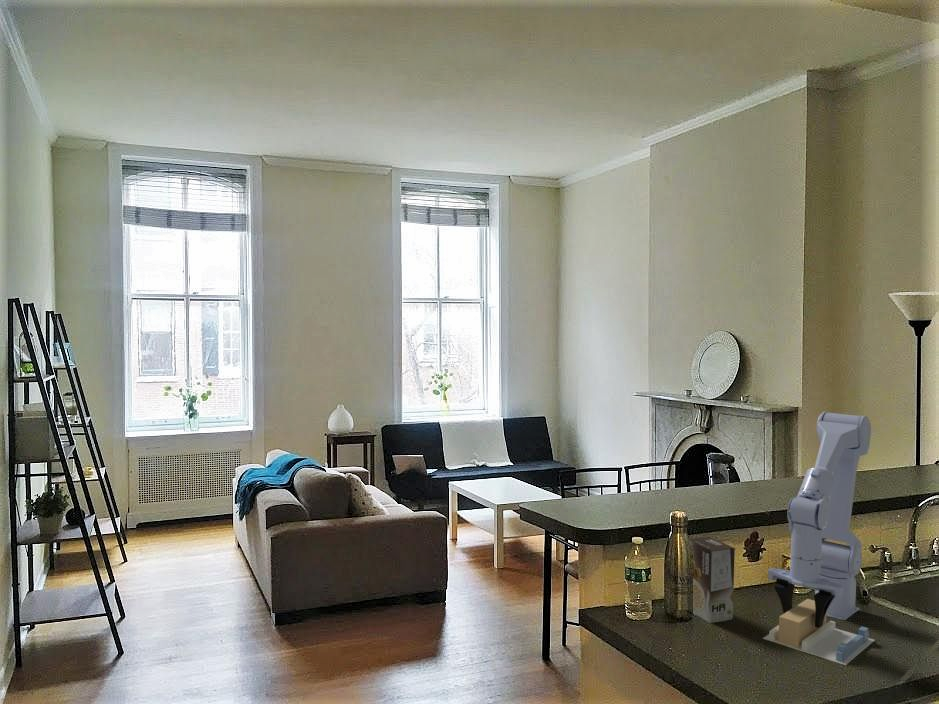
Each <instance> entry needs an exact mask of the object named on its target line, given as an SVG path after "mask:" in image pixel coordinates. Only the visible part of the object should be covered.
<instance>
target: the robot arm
mask: <svg viewBox="0 0 939 704" xmlns="http://www.w3.org/2000/svg"><path fill="white" fill-rule="evenodd" d="M816 434H817V436H818V441H819V443H820V444H819V449H818V451H817V452H818V453H817V457H816V460H815V463H814V467H810V468H808V469H807V470H806V473H805V475H804V478H803V481H802V483H801V486H800V488H799V491H798V493H797V495H796V496H795V497H792V498H791V499H790V500H789V502H788V506H787V512H786V513H787V514H786V515H787V516H786V517H787V521H788V530H789V533H791V535H790V539H791V540H790V559H789V560H790V561H789V564H790V565H789V570H787V569H781V568H775V567H771V568H769V569H768V570H767V579H768V580H771V581H772V580H775V583H774V584H773V588H774V590H775V592H776V595H777V596H778V598H779V601H780V604H781V608H782V613H783V614H784V613H786V612H787V611H789V610H790V609H792V608H793V599H794V591H795V586H798V587H803V588H807V589H809V590H814V593H815V594H814V595H813V598H814V599H813V600H814V601H815V610H816V614H815V627H816V628H820V627H821V626H822V625H823V620H824V617H825V614H826V612H827V614H826V616H828V617H831V618H835V619H839V620H844V621H846V620H847V619H848V618H849V617H851V616H853V614H855V613H856V612H858V611H861V610H860V607H857V606H856V601H857V600H856V597H857V596H856V594H857V580H856V577H855V576H856V575H858V574H859V572H860V571H861V568H862V562H863V554H862V547H863V543H862V541H860V538H858V537H857V535H855V534H854V533H853V532H852V531H851V529H850V528H851V527H850V526H851V519H852V511H853V504H854V496H855V495H854V494H855V488H856V480H857V471H858V464H859V461H860V457H862V456H865V455H867V454H868V453H869V449H870V442H871V435H872V424H871V420H870V419H869V417H868V416H867V415H854V414H845V413H844V414H843V413H833V412H828V411H823V412H821V413H820V414H819V415H818V417H817V421H816ZM827 540H832V541H833V542H831V541H827ZM834 541H836V542H834ZM837 542H840V543H837ZM842 543H845V544H842Z"/></svg>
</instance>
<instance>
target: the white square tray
mask: <svg viewBox="0 0 939 704" xmlns="http://www.w3.org/2000/svg"><path fill="white" fill-rule="evenodd" d="M869 633H870V632H869V627H865V626H861V627H860V626H859V628H858V631H857V634H856V633H853V632H850V631H845V630H842V629H839V628H837V627H836V621H833V620H829V621H828V622H826V624H825V625H824V626H822V627H821V628H820V629H818V630H817V631H815V632H814V633H813V634H811V635H810V636H808V637H807V638H806V639H804V640H803V641H802V645H801V646H800V647H795V646H792V645H789V644H786V643H783V642H779V641H778V634H779V624H778V625H776V626H775V627H774V628H772V629H770V630H769V634H767V635H765V636H764V637H762V639H763V640H766V641H770V642H772V643H775V644H778V645H782V646H785V647H788V648H791V649H795V650H797V651H800V652H803V653H807V654H809V655H813V656H816V657H818V658H822V659H825V660H828V661H831V662H835V663H837V664H841V665H844V666H847V665H848V664H849V663H850V662H851V661H852V660H854V659H855V658H856V657H857V656H858V655H859V654H860V653H862V652H863V651H864V650H865V649H867V648H868V647H869V646H870V645H871V644H872V643H873V642H875V641H876V640H875V639H873V638H870V637H869V635H870V634H869Z"/></svg>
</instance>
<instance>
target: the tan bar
mask: <svg viewBox="0 0 939 704" xmlns="http://www.w3.org/2000/svg"><path fill="white" fill-rule="evenodd" d="M815 614H816V610H815V600H814V599H810V598H806V599H805V600H803V601H802V602H800V603H799V604H797V605H795V606H794V607H792V609H790V610H789V611H787V612H786V613H783V614H781V615H779V617H778V625H779V634H778V641H779V642H783V643H786V644H789V645H792V646H795V647H800V646H801V645H802V641H803V640H804V639H806V638H807V637H808V636H810V635H811V634H813V633H814V632H815V631H817V630H818V629H820V628H821V627H822V626H824V625H825V624H826V623H827V615H826V614H827V612H826V614H825V617H824V620H823V625H822V626H821V627H820V628H816V627H815Z"/></svg>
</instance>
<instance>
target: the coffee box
mask: <svg viewBox="0 0 939 704" xmlns="http://www.w3.org/2000/svg"><path fill="white" fill-rule="evenodd" d="M688 539H689V542H690V545H691V549H692V555H693V570H694V576H693V614H694V615H693V614H692V615H693V616H697V617H700V618H701V619H703V620H705V621H706V622H707V623H709V624H711V623H718V622H725V621H730V620H733V617H734V616H733V615H734V614H733V613H734V591H735V589H734V588H735V587H734V585H735V583H734V581H735V557H736V556H735V553H736V548H735V547H733V546H731V545H728V544H727V543H724V542H721V540H717V539H715V538H713V537H711V536H702V537H701V536H700V537H694V538H688Z"/></svg>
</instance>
